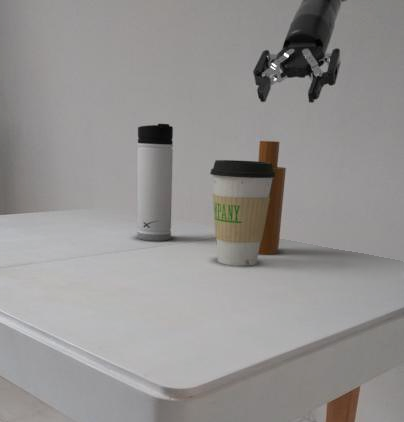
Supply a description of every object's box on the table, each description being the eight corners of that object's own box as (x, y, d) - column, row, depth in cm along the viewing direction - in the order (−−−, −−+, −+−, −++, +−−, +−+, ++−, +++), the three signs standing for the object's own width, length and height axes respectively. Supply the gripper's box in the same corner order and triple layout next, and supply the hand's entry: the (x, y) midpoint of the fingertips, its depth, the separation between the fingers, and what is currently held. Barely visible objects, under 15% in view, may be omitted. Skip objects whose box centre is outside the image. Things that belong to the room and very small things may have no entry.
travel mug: (148, 242, 102) (149, 122, 95) (131, 236, 107) (131, 122, 100) (177, 240, 105) (180, 124, 98) (160, 234, 110) (162, 124, 103)
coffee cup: (207, 254, 94) (211, 159, 89) (266, 257, 94) (273, 161, 88) (205, 266, 85) (209, 161, 80) (270, 269, 85) (279, 164, 79)
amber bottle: (277, 248, 102) (286, 142, 95) (278, 255, 96) (289, 142, 89) (243, 246, 102) (251, 140, 95) (243, 253, 96) (251, 140, 90)
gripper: (351, 51, 101) (329, 117, 95) (275, 52, 106) (250, 115, 101) (349, 10, 95) (325, 78, 89) (268, 14, 100) (241, 79, 94)
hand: (285, 98), depth 95 cm, fingers open, 8 cm apart
